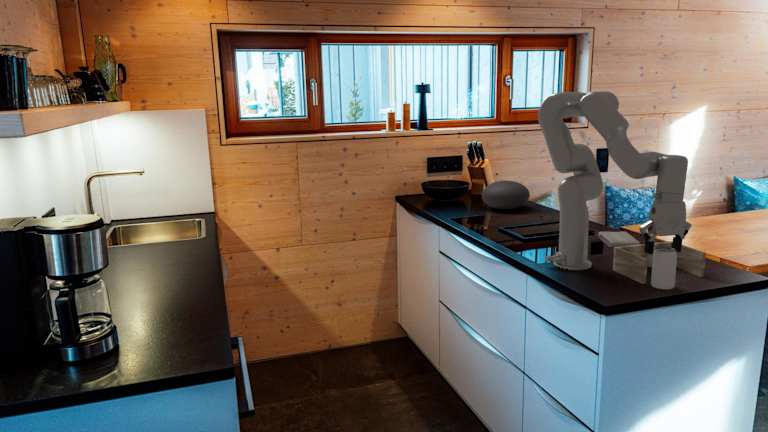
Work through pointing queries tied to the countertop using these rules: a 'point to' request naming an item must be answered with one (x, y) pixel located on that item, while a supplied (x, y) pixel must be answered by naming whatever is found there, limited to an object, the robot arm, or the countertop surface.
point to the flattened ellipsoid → (505, 195)
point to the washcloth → (617, 239)
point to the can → (664, 268)
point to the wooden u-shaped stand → (636, 260)
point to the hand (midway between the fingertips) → (662, 251)
